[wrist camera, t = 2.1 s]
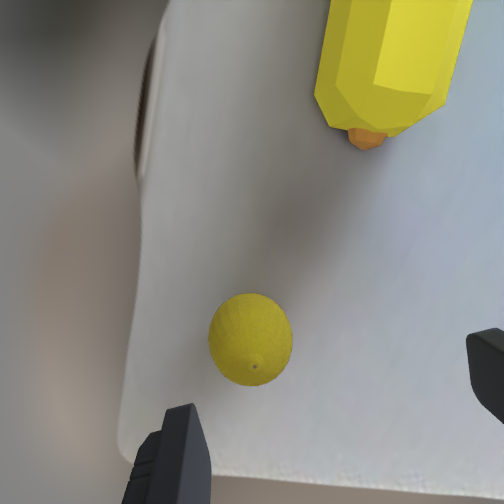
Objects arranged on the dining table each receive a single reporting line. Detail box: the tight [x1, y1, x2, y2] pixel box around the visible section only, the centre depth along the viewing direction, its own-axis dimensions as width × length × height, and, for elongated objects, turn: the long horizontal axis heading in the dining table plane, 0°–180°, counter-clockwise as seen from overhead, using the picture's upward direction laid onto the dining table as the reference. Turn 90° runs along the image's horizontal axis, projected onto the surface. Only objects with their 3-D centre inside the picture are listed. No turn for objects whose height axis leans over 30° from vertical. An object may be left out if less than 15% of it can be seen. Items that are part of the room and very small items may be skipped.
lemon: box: [208, 293, 292, 386], centre depth 25 cm, size 6×6×8 cm
